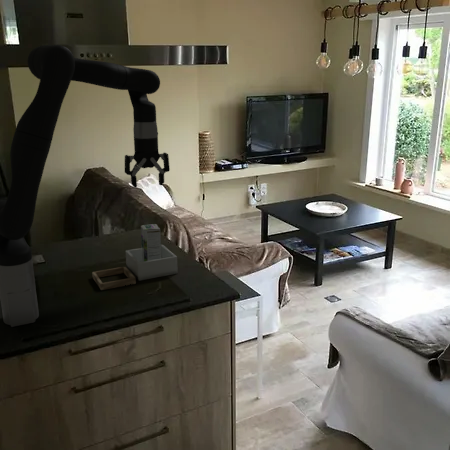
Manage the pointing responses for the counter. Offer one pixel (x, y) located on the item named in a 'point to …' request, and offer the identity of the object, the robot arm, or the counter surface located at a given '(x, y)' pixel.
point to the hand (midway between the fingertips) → (148, 186)
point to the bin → (151, 264)
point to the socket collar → (113, 284)
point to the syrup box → (150, 242)
